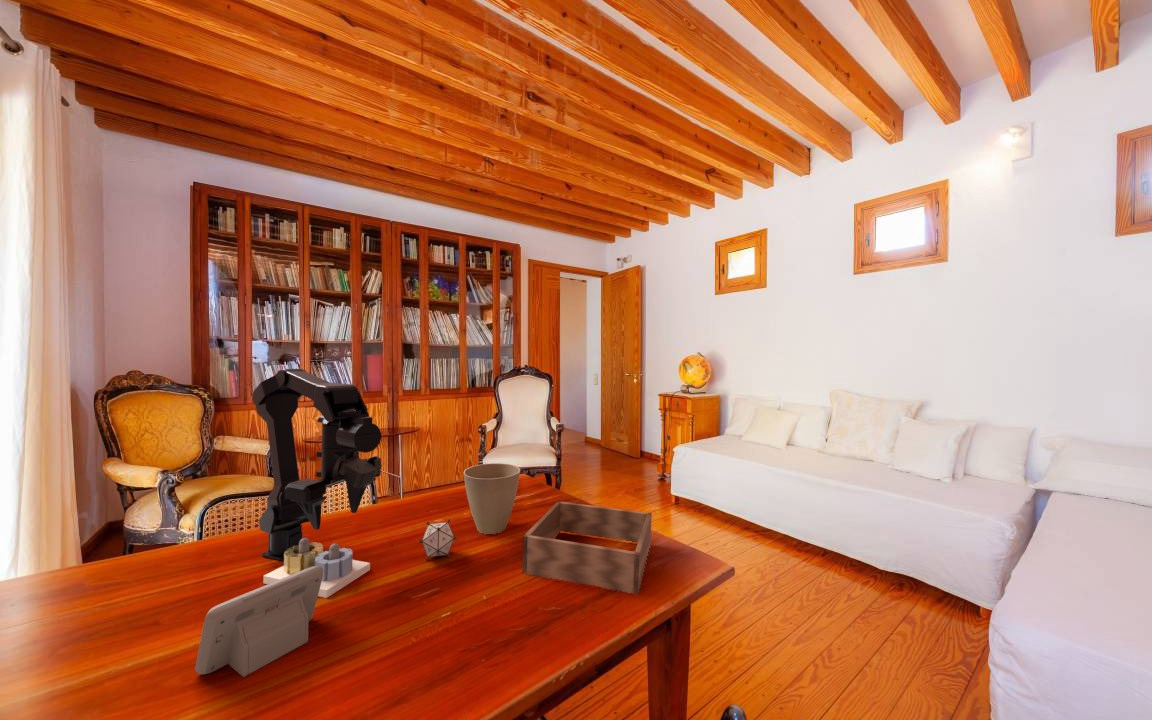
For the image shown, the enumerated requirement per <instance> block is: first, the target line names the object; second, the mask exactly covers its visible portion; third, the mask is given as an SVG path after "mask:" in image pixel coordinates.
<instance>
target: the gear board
mask: <svg viewBox="0 0 1152 720" xmlns="http://www.w3.org/2000/svg"><path fill="white" fill-rule="evenodd" d="M309 542H310V540H309V538H307V537H303V539H301V540H300V542H299V554H303V553H306V552H309ZM339 548H340V545H339V544H338V543H332V544H331V545H330V546H329V550H328V551H329V560H335V559H339ZM370 570H371V562H367V561H362V560H356V559H352V571H351V573H350V574H348V575H346V576H345V577H343V578H342V577H339V579H337V580H332V581H327V580H328V579H327V580H326V581H324V582H323V581H322V582H321V586H320V590H319V594H318V597H320V598H324V599H327V598H329V597H331V596H332V595H333V594H335V593H336V592H338V591H339V590H341V589H343V588H344V587H346V586H347V585H349V584H351V583H352V582H354V581H355V580H357V579H358V578H360V577H361V576H363V575H364V574H366V573H368V572H369V571H370ZM290 575H292V574H290V573H286V572H285V571H284V565H282V566H279V567H278V568H276V569H275V570H272V571H270V572H269V573H266V574H263V582H262V583H263V584H266V585H268V584H270V583H273V582H275V581H278V580H280V579H282V578H285V577H287V576H290Z"/></svg>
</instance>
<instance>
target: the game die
mask: <svg viewBox="0 0 1152 720" xmlns="http://www.w3.org/2000/svg"><path fill="white" fill-rule="evenodd" d="M450 522H451V518H449V519H447V521H446V522H443V521H442V522H434V523H430V522H429V521H427V520H426V526H427V527H426V529H425V531H424V534H423V536H422V539H419V540H418V543H419V544H421V545H422V546H423V549H424V551H425V554H426V558H425V561H428V559H429V558H433V557H441V556H443V557H444V556H447V557H448V558H451V555H450V554H449V553H450V551H451V548H452V545H453V544H454V540H457V539H458V536H456V535H454V533H453V531H452V528H451V526H450Z"/></svg>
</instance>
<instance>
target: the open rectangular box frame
mask: <svg viewBox="0 0 1152 720" xmlns="http://www.w3.org/2000/svg"><path fill="white" fill-rule="evenodd" d="M652 517H653V515H652V512H651V513H650V512H645V511H635V510H628V509H619V508H611V507H605V506H596V505H588V504H582V503H575V502H574V503H573V502H566V501H559V500H557V502H555V503H554V504H553V506H552V507H550V509H548V511H547V512H546V513H544V515H543V516H542V517H540V519H539V520H537V522H536V523H535V524H534V525H533V526H532V527H531V528H530V529H528V531H526V532H525V534H524V535H523V536H522V537H523V538H522V541H523V542H522V574H523V573H526V574H525V575H529V574H530V576H534V575H535V576H536V577H540V578H545V579H550V578H552V580H555V579H560V580H559V581H561V580H565V581H564V582H566V581H570V582H569V583H572V582H576V583H575V584H577V583H582V584H588V585H595V586H599V587H603V588H602V589H604V588H607V589H606V590H609V589H612V590H611V591H615V590H617V591H616V592H620V591H622V593H625V592H627V594H631V593H633V594H632V595H636V594H638V593H639V592H640V590H639V589H641V586H642V582H641V581H642V580H643V578H642V576H643V577H644V574H643V572H644V573H645V570H644V568H645V569H646V566H645V564H646V565H647V562H646V560H647V561H648V558H647V556H648V557H649V554H648V552H649V553H650V550H649V548H650V549H651V546H650V544H651V545H652V520H653V519H652ZM559 531H564V532H570V533H578V534H584V535H591V536H598V537H605V538H612V539H619V540H626V541H632V542H638V544H637V545H636V548H635V550H634V551H633V550H632V551H631V550H626V549H620V548H612V547H607V546H601V545H594V544H587V543H581V542H575V541H568V540H562V539H556V538H555V539H554V537H555V536H556V535H557V533H558V532H559ZM557 536H558V535H557ZM582 584H581V585H582ZM588 585H587V586H588ZM640 585H641V586H640ZM638 595H639V594H638Z"/></svg>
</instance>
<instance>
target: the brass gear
mask: <svg viewBox="0 0 1152 720" xmlns="http://www.w3.org/2000/svg"><path fill="white" fill-rule="evenodd" d="M323 552H324V545H323V544H322V543H321V542H316V541H312V542H311V541H309V552H306V553H303V554H299V544H298V545H295V546H293V547H290V548H289V549H288V550H286V551H285V553H284V560H283V566H284V571H285V572H286V573H290V574H295V573H297V572H300V571H302V570H305V569H307V568H310V567H314V566H315V558H316V557H317V555H319V554H321V553H323Z"/></svg>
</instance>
